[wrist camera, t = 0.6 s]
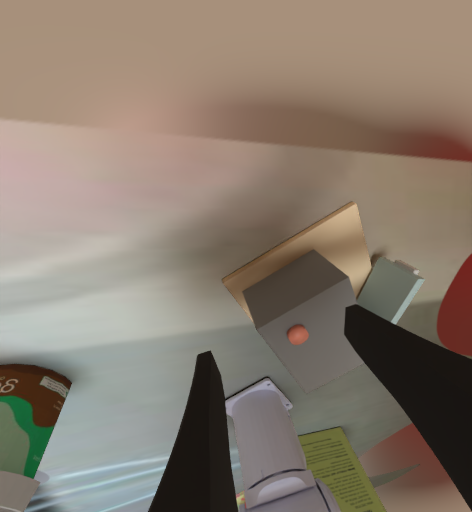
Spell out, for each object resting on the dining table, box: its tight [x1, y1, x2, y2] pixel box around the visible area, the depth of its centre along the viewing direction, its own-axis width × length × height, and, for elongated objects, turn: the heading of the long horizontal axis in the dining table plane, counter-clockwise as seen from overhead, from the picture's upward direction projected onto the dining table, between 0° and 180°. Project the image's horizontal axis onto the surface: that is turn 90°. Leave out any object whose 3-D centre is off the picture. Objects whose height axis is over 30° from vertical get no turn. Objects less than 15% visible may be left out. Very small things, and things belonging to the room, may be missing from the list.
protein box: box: [298, 427, 386, 512], centre depth 35 cm, size 10×15×16 cm
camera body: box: [242, 249, 364, 394], centre depth 21 cm, size 13×8×6 cm, turn 30°
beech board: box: [222, 202, 372, 323], centre depth 24 cm, size 19×14×1 cm
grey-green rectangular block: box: [357, 257, 425, 325], centre depth 22 cm, size 9×2×4 cm, turn 170°
